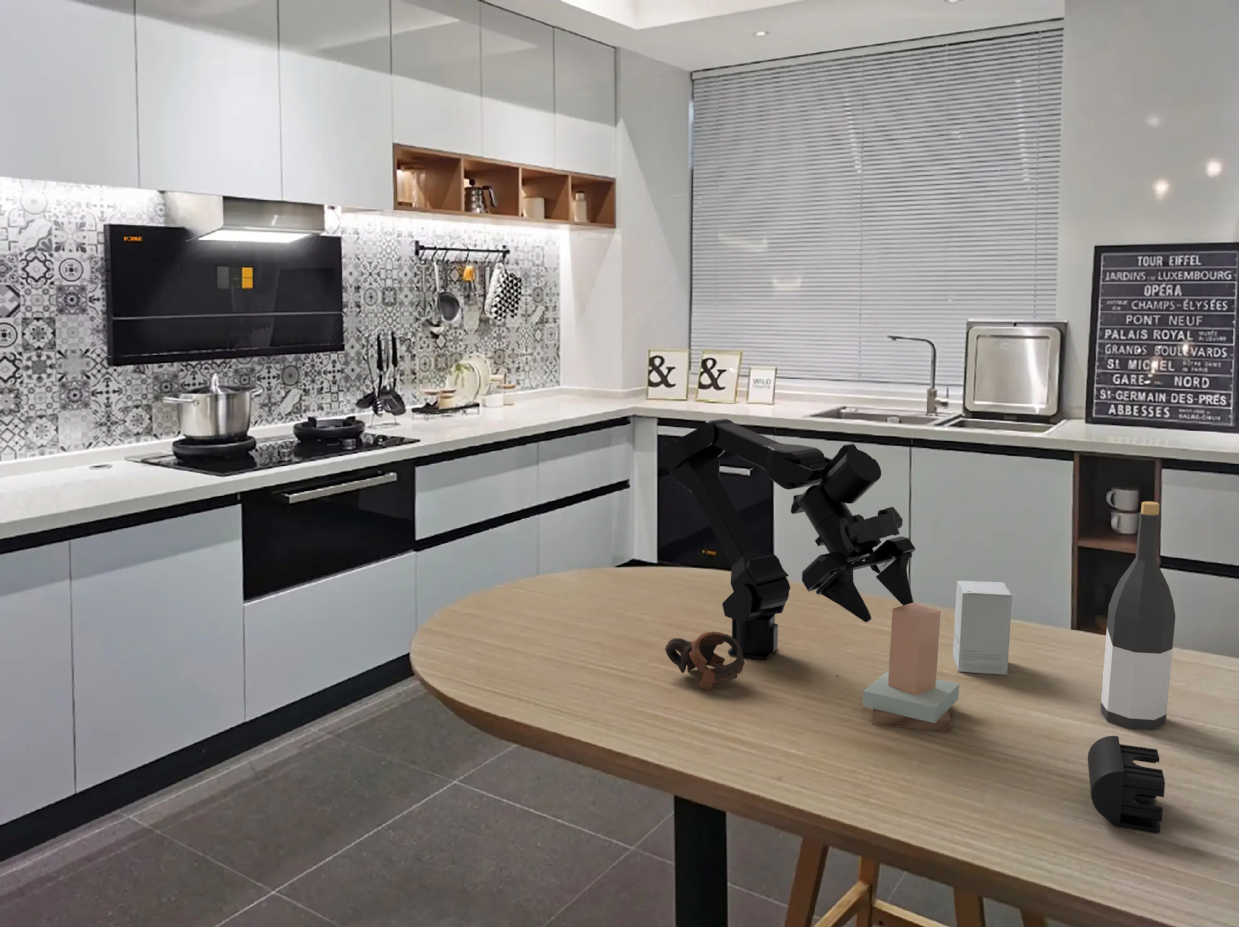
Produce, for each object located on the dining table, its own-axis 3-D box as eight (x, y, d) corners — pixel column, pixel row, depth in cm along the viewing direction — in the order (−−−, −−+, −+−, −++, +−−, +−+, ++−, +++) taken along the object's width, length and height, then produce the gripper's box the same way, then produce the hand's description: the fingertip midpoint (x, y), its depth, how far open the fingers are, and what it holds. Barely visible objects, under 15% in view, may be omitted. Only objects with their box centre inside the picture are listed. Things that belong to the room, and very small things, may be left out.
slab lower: (872, 728, 142) (872, 713, 142) (872, 700, 152) (873, 686, 151) (949, 736, 140) (950, 720, 140) (945, 707, 149) (946, 692, 149)
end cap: (1085, 785, 125) (1089, 731, 124) (1152, 795, 122) (1156, 740, 121) (1088, 825, 116) (1093, 767, 115) (1160, 837, 113) (1166, 778, 112)
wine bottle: (1162, 736, 138) (1182, 511, 133) (1095, 722, 142) (1112, 505, 137) (1168, 714, 145) (1187, 500, 140) (1104, 702, 149) (1121, 494, 144)
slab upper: (862, 706, 144) (863, 690, 144) (889, 683, 152) (889, 669, 152) (935, 723, 139) (935, 707, 138) (958, 699, 147) (959, 683, 146)
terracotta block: (888, 684, 146) (892, 608, 144) (908, 677, 149) (913, 602, 147) (914, 695, 142) (920, 617, 140) (935, 687, 145) (940, 611, 143)
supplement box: (1008, 675, 159) (1013, 595, 157) (957, 672, 161) (961, 592, 159) (1000, 659, 166) (1005, 581, 164) (952, 655, 168) (956, 579, 166)
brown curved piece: (740, 670, 163) (752, 635, 158) (730, 717, 156) (742, 681, 151) (665, 647, 165) (675, 611, 160) (652, 693, 157) (662, 657, 152)
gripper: (820, 498, 142) (882, 597, 136) (908, 482, 153) (969, 573, 147) (776, 542, 150) (832, 638, 143) (863, 524, 161) (918, 612, 154)
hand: (890, 614), depth 147 cm, fingers open, 9 cm apart
